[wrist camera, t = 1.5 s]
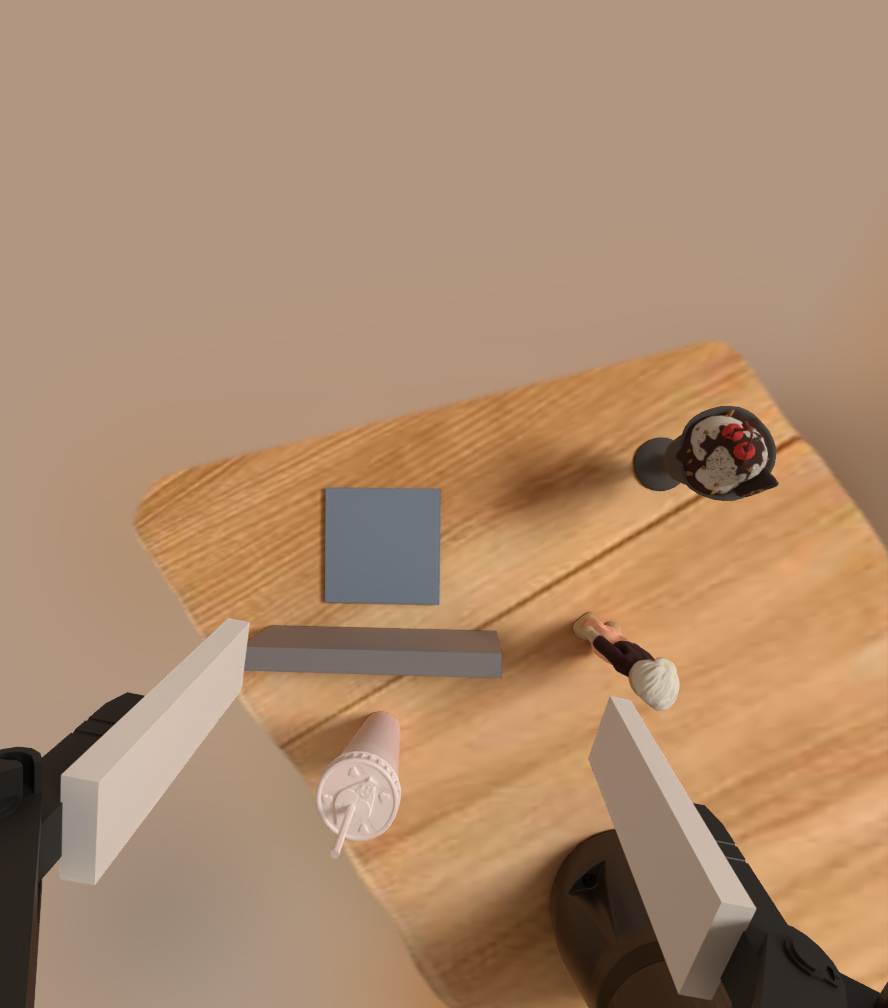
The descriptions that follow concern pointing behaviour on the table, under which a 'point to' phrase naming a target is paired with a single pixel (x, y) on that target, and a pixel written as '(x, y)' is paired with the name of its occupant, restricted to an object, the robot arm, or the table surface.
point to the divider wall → (375, 651)
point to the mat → (382, 545)
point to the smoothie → (362, 783)
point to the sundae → (712, 456)
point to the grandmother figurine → (631, 661)
